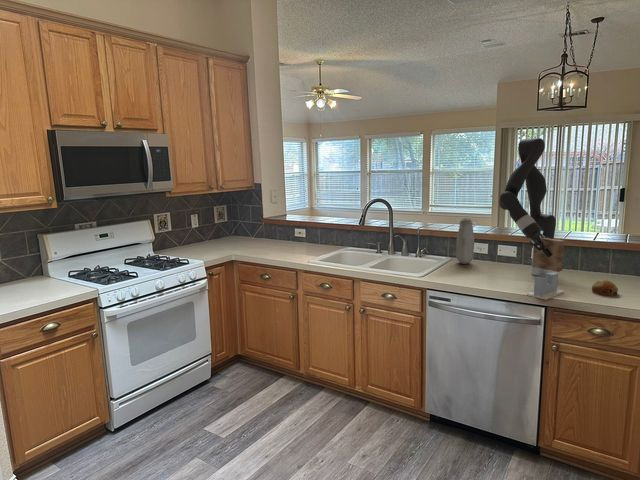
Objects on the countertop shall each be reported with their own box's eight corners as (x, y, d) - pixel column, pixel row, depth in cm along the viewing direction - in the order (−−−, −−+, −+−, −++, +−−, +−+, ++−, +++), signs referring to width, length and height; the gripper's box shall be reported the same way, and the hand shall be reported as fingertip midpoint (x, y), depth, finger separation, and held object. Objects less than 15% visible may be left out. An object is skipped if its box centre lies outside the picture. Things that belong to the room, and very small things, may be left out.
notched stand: (544, 288, 209) (545, 270, 207) (563, 292, 202) (565, 274, 200) (526, 295, 199) (527, 276, 197) (546, 299, 192) (547, 280, 190)
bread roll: (609, 298, 204) (606, 281, 206) (625, 295, 194) (621, 277, 196) (589, 298, 204) (586, 282, 206) (603, 295, 194) (600, 278, 196)
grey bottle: (455, 261, 269) (457, 217, 264) (473, 262, 266) (475, 217, 261) (455, 264, 260) (457, 219, 255) (473, 265, 256) (475, 219, 251)
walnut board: (532, 266, 202) (534, 237, 200) (535, 265, 204) (538, 236, 202) (558, 271, 193) (561, 241, 190) (562, 270, 195) (564, 240, 192)
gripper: (526, 222, 196) (551, 253, 189) (541, 220, 205) (566, 248, 197) (514, 232, 201) (538, 262, 194) (530, 229, 210) (553, 258, 202)
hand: (552, 255), depth 196 cm, fingers closed on walnut board, 3 cm apart
